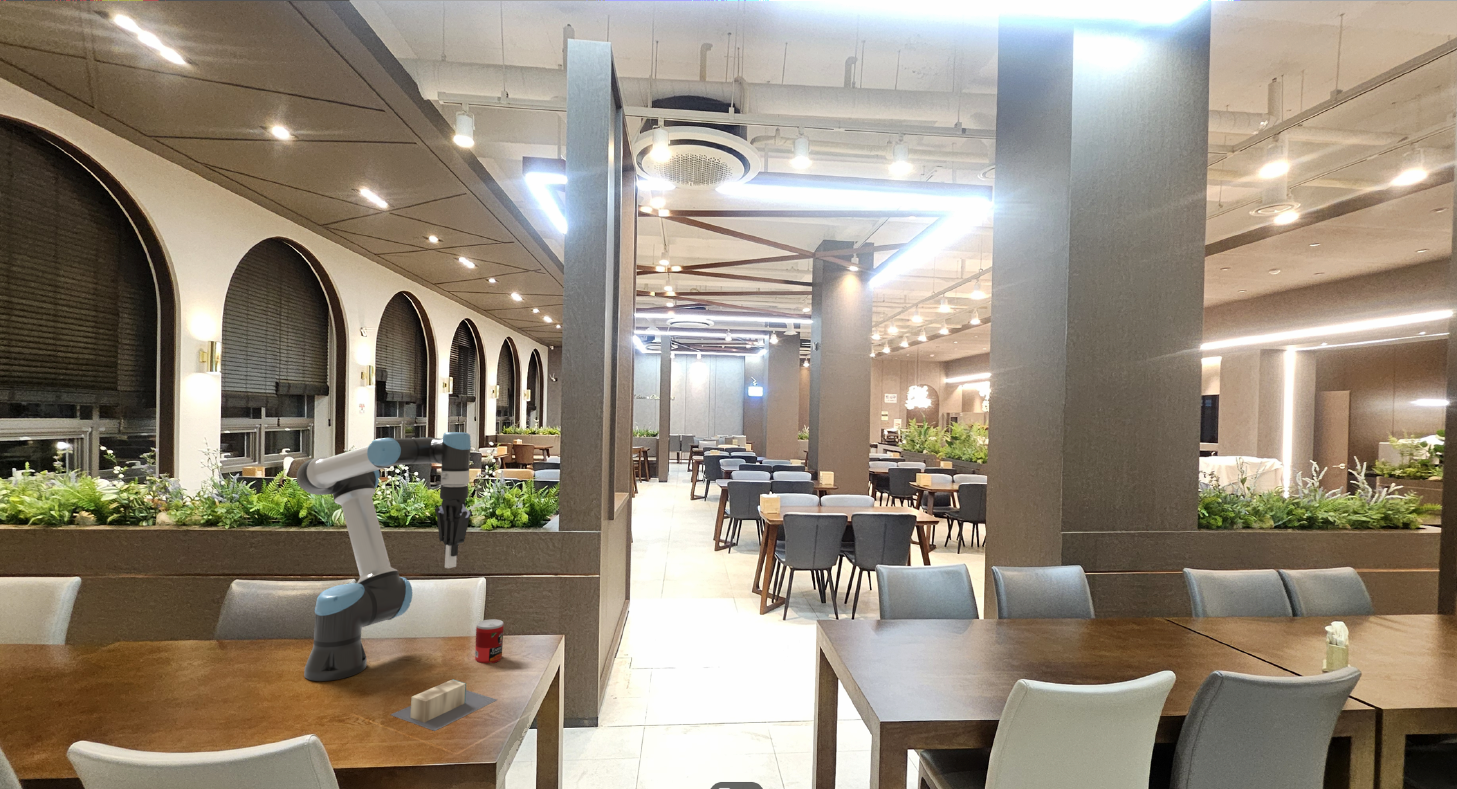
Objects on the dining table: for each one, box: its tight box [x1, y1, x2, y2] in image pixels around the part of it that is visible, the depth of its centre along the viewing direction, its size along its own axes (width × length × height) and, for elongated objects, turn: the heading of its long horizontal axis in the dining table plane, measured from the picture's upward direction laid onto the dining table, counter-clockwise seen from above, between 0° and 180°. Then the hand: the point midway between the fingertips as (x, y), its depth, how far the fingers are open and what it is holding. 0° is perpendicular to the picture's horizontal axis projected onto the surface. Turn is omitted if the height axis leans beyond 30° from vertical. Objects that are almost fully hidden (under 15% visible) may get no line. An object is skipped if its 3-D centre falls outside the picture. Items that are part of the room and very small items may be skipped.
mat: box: [390, 689, 498, 732], centre depth 157 cm, size 16×19×1 cm
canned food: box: [474, 618, 504, 664], centre depth 190 cm, size 8×8×11 cm
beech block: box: [410, 679, 467, 723], centre depth 156 cm, size 5×5×12 cm
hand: (450, 566), depth 180 cm, fingers closed
